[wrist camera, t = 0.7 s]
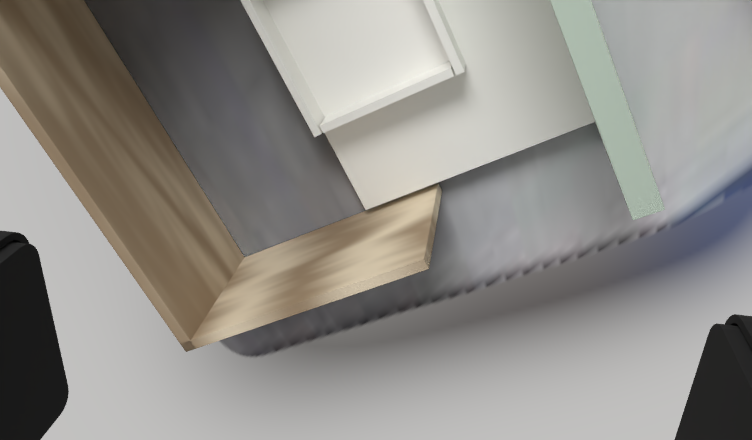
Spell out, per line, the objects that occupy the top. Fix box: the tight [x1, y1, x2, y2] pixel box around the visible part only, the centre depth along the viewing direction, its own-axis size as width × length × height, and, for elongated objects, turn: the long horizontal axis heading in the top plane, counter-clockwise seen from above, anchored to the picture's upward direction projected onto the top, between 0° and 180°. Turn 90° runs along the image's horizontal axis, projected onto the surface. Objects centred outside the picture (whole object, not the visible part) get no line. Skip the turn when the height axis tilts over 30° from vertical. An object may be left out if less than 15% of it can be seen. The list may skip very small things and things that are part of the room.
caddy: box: [0, 0, 442, 352], centre depth 31 cm, size 13×20×8 cm, turn 26°
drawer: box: [241, 0, 665, 220], centre depth 28 cm, size 13×21×8 cm, turn 26°
